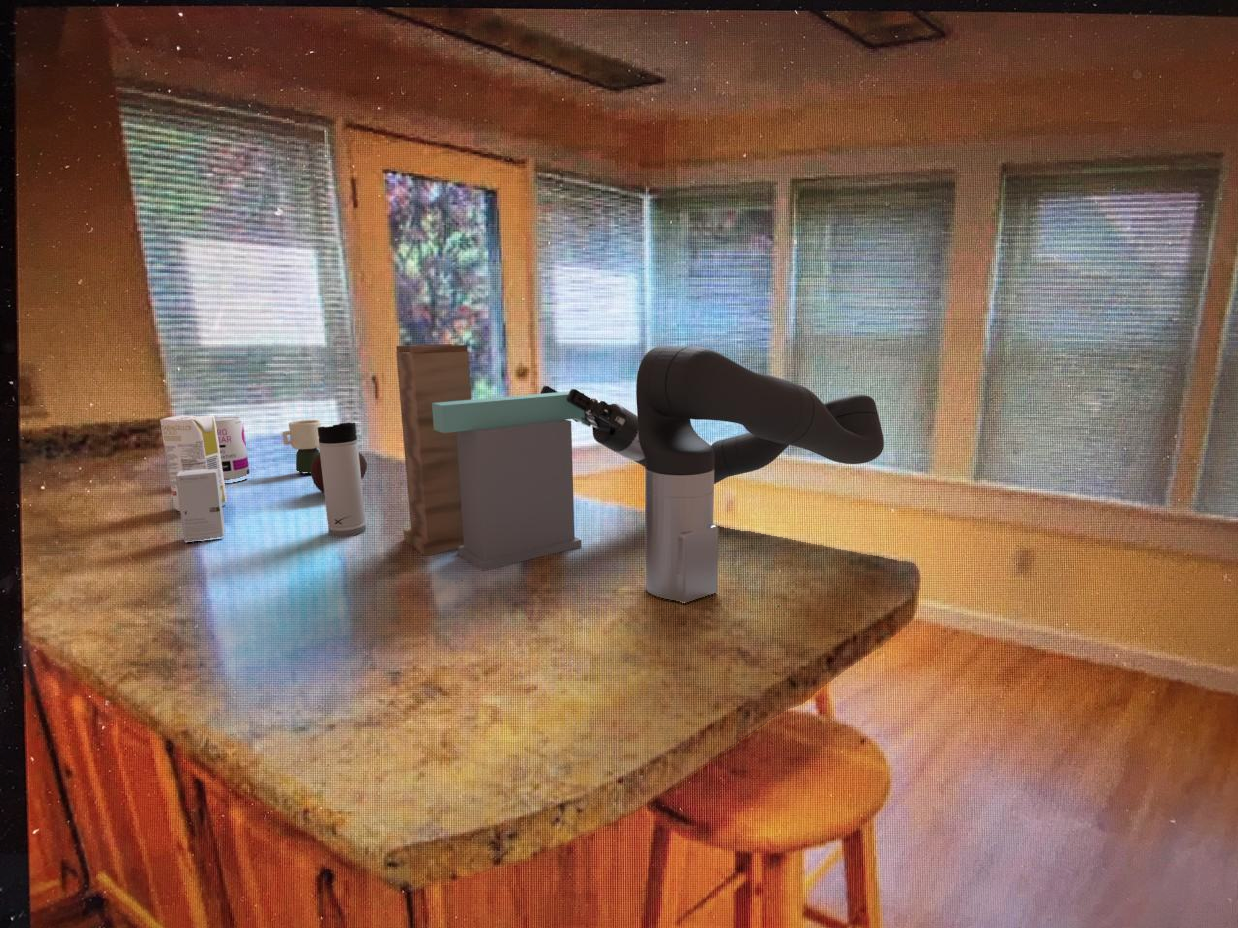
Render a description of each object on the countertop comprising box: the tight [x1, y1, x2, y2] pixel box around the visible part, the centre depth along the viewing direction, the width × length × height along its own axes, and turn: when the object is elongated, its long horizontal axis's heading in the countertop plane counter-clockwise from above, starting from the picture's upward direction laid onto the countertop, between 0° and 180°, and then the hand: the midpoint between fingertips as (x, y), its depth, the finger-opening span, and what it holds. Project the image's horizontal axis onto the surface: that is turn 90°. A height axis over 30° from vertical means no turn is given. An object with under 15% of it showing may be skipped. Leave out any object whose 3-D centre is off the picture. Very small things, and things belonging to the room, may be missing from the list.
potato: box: [310, 452, 368, 494], centre depth 147 cm, size 11×13×10 cm
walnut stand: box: [395, 343, 472, 557], centre depth 111 cm, size 10×11×33 cm
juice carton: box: [159, 414, 227, 510], centre depth 135 cm, size 8×9×19 cm
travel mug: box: [318, 422, 367, 538], centre depth 119 cm, size 6×7×20 cm
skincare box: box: [176, 468, 226, 542], centre depth 117 cm, size 6×4×12 cm
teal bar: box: [432, 391, 585, 433], centre depth 105 cm, size 4×24×4 cm, turn 125°
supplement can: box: [214, 416, 251, 480], centre depth 160 cm, size 8×8×15 cm
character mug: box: [282, 419, 322, 473], centre depth 167 cm, size 11×7×13 cm, turn 136°
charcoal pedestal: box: [457, 419, 582, 572], centre depth 108 cm, size 10×18×21 cm, turn 126°
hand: (555, 392), depth 109 cm, fingers open, 8 cm apart
